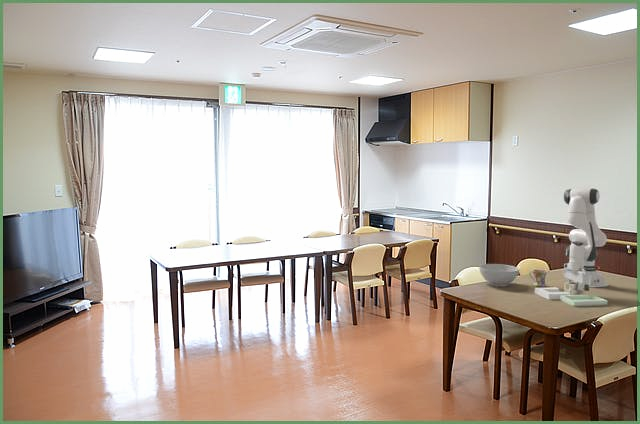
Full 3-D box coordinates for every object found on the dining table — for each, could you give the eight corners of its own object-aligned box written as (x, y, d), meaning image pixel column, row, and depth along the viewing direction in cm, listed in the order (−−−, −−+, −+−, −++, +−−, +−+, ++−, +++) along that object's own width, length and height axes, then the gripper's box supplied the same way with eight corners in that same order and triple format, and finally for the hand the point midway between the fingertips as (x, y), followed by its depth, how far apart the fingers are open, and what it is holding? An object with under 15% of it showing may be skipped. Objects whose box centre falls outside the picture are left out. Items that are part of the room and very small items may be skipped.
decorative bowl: (470, 281, 370) (471, 265, 368) (500, 279, 379) (501, 262, 378) (495, 290, 345) (496, 272, 344) (527, 287, 354) (528, 270, 353)
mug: (548, 286, 358) (549, 271, 357) (542, 288, 352) (543, 273, 351) (531, 283, 367) (532, 268, 366) (525, 285, 361) (526, 270, 360)
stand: (555, 292, 341) (555, 287, 341) (570, 298, 325) (570, 293, 325) (534, 293, 339) (534, 287, 339) (548, 299, 323) (548, 294, 323)
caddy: (585, 293, 339) (585, 282, 338) (591, 296, 333) (591, 284, 332) (563, 294, 337) (564, 282, 336) (569, 296, 331) (570, 284, 330)
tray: (591, 299, 325) (592, 294, 325) (607, 305, 312) (607, 300, 311) (559, 300, 322) (560, 295, 322) (573, 306, 308) (574, 301, 308)
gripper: (591, 270, 323) (589, 291, 324) (571, 263, 343) (569, 284, 344) (581, 270, 322) (580, 291, 323) (562, 263, 342) (561, 284, 344)
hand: (574, 287), depth 334 cm, fingers open, 8 cm apart
